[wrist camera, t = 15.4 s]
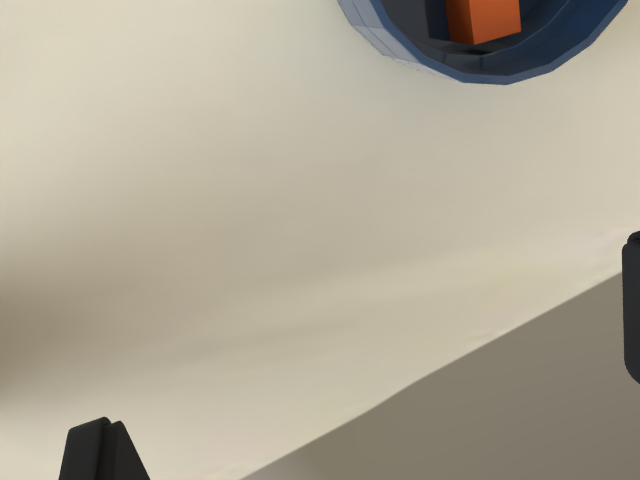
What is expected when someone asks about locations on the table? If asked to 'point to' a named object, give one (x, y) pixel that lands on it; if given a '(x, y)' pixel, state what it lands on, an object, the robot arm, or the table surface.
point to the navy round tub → (489, 57)
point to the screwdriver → (482, 20)
